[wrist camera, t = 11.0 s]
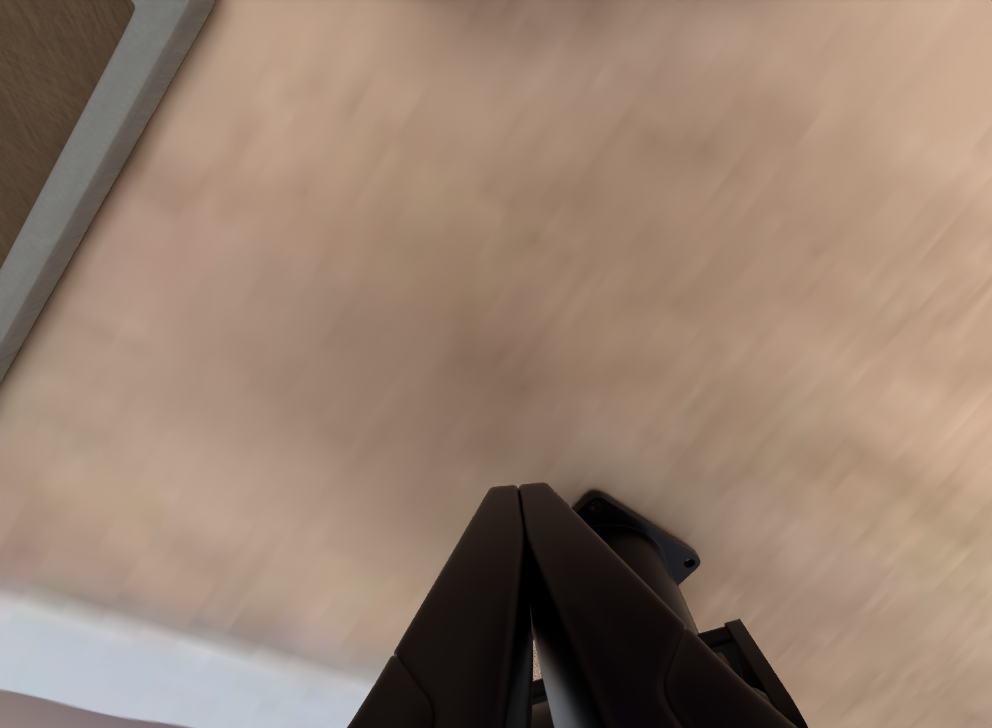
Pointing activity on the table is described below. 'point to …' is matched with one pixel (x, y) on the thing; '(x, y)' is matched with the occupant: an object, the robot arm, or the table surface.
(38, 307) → the grey rectangular tray
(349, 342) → the table surface
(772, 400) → the table surface
